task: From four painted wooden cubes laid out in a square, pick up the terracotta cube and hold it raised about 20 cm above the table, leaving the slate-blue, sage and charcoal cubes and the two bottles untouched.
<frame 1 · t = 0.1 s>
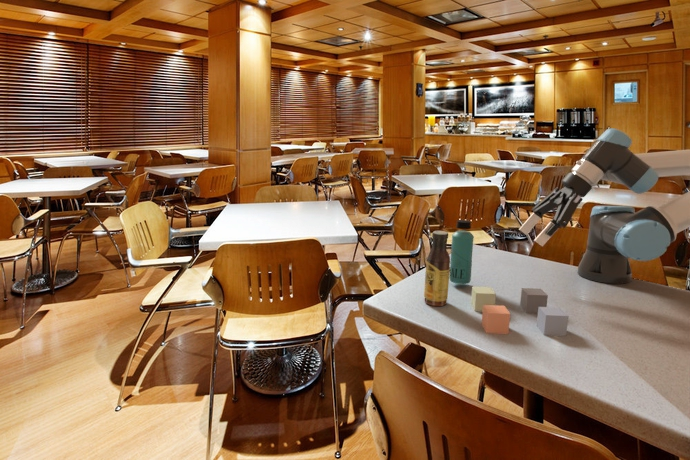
hand: (529, 237, 133), 15 cm above the table, tool tilted 35°, fingers open, 13 cm apart
cube slate: (550, 331, 108), on the table
beverage bottle: (459, 286, 138), on the table
cube terracotta: (494, 329, 109), on the table
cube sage: (482, 307, 121), on the table
cube charcoal: (532, 309, 120), on the table
sauce bottle: (435, 303, 124), on the table
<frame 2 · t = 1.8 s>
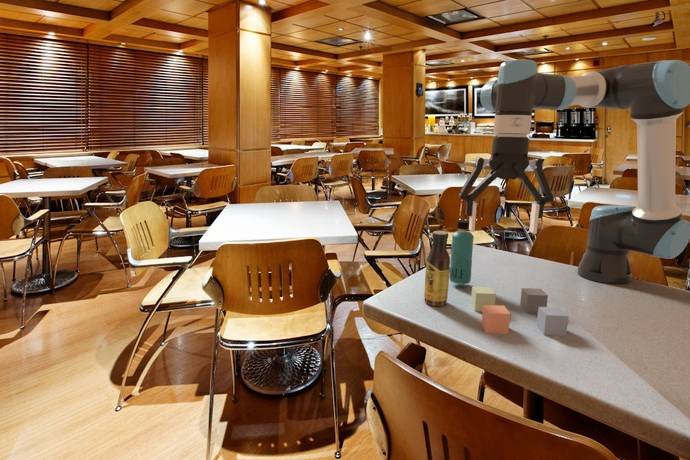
hand: (502, 231, 104), 23 cm above the table, tool pointing down, fingers open, 13 cm apart
nothing on the table moved.
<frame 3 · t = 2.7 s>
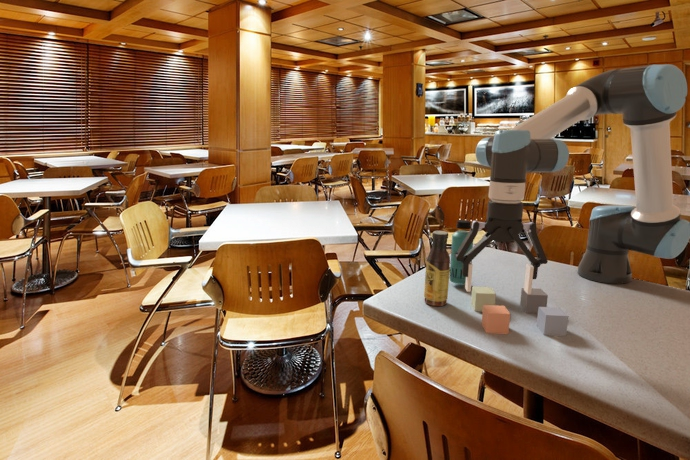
hand: (497, 291, 106), 9 cm above the table, tool pointing down, fingers open, 13 cm apart
nothing on the table moved.
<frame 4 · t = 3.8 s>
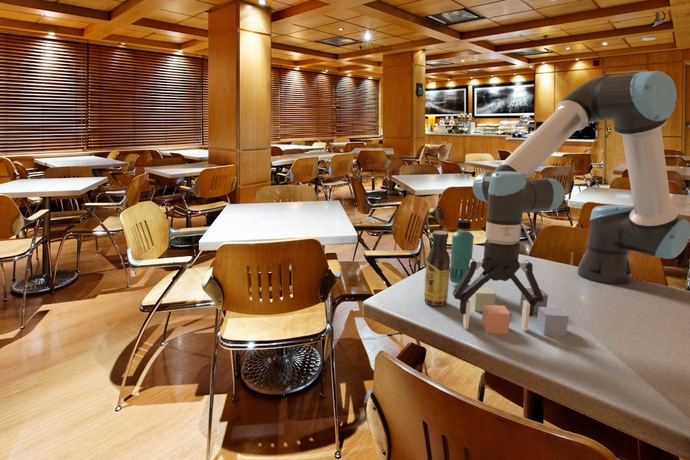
hand: (494, 327, 109), 0 cm above the table, tool pointing down, fingers open, 13 cm apart
nothing on the table moved.
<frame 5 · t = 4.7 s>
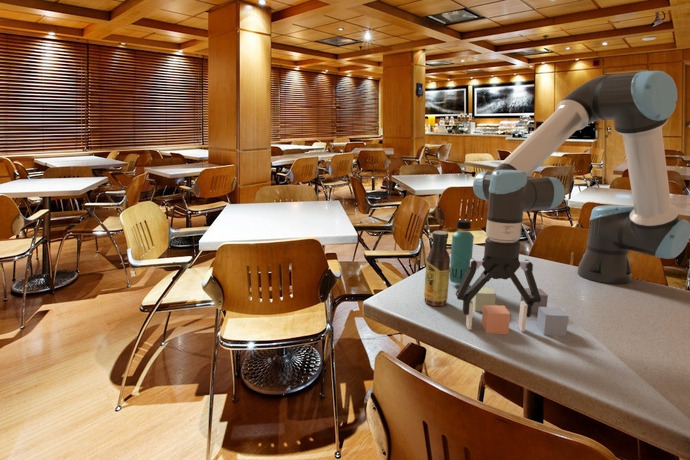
hand: (494, 328, 108), 0 cm above the table, tool pointing down, fingers open, 12 cm apart
nothing on the table moved.
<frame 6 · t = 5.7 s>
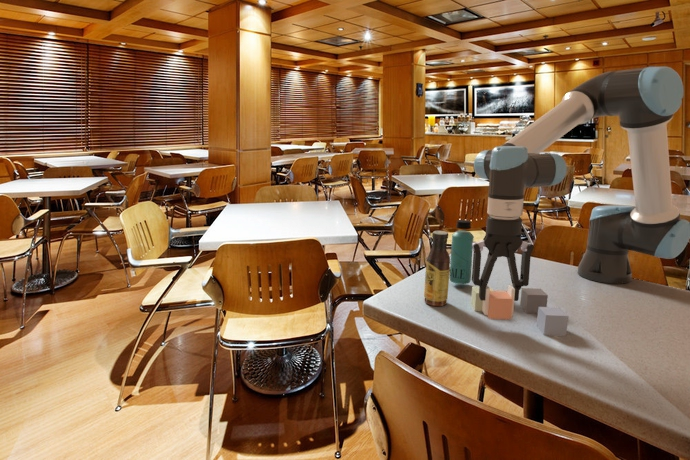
hand: (497, 312, 108), 4 cm above the table, tool pointing down, fingers closed on cube terracotta, 5 cm apart
cube terracotta: (497, 314, 108), point 3 cm above the table, touching gripper
everything else where it was.
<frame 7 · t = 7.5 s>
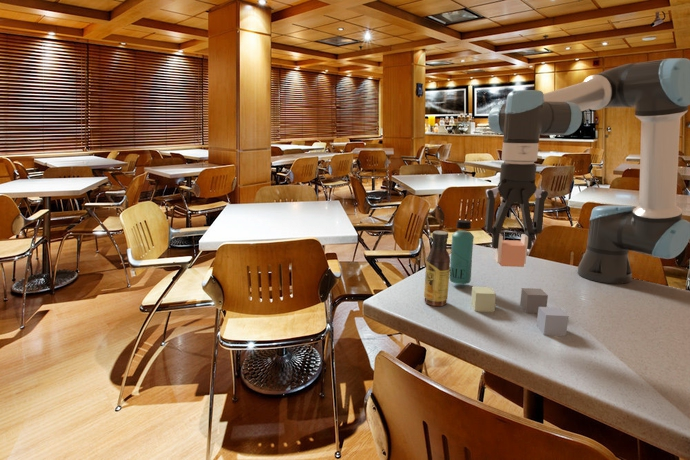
hand: (509, 261, 108), 16 cm above the table, tool pointing down, fingers closed on cube terracotta, 5 cm apart
cube terracotta: (509, 263, 108), point 15 cm above the table, touching gripper
everything else where it was.
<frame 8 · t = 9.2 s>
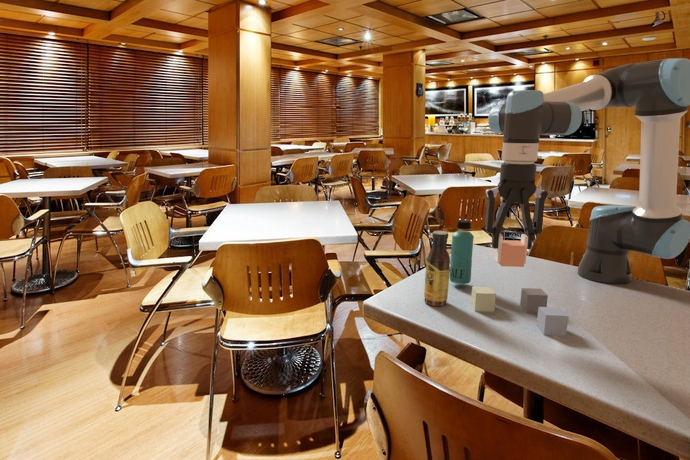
hand: (509, 261, 108), 16 cm above the table, tool pointing down, fingers closed on cube terracotta, 5 cm apart
cube terracotta: (509, 263, 108), point 15 cm above the table, touching gripper
everything else where it was.
at the end: the gripper is holding cube terracotta; cube terracotta point 15.3 cm above the table; cube slate moved 0.1 cm from its start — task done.
